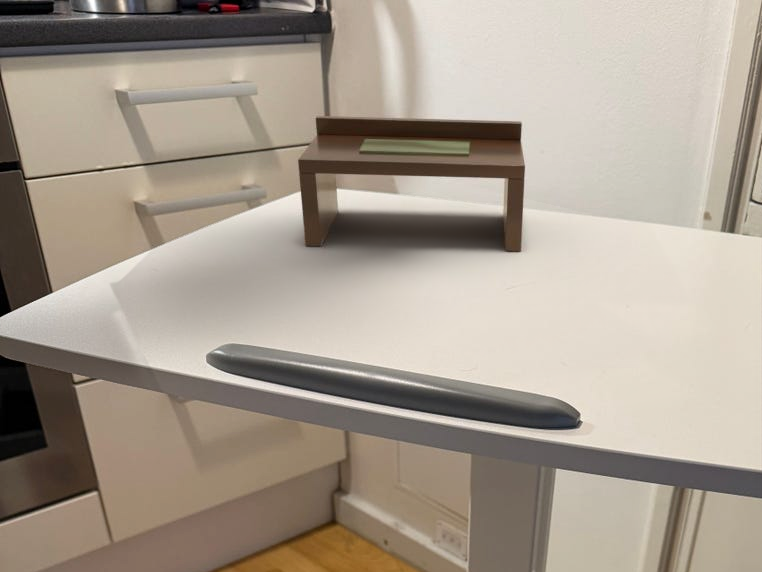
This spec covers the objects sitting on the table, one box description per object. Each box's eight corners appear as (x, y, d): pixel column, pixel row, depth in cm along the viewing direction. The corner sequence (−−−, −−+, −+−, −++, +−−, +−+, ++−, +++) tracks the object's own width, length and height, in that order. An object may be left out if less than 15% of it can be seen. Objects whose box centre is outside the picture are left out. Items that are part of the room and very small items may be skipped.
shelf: (520, 251, 95) (526, 147, 89) (305, 246, 95) (296, 141, 89) (517, 216, 106) (521, 121, 100) (324, 211, 106) (317, 115, 100)
